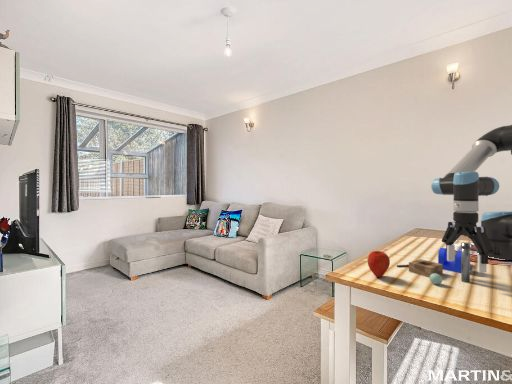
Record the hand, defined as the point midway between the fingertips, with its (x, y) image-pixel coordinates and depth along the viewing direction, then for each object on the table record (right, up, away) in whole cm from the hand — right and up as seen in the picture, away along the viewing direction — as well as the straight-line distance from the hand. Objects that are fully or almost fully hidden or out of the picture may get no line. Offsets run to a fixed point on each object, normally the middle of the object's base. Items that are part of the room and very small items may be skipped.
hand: (465, 266), depth 99 cm
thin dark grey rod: (-9, -6, +19) cm, 22 cm away
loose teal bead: (-13, -6, -2) cm, 14 cm away
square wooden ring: (-8, -6, +11) cm, 15 cm away
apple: (-30, -7, +7) cm, 32 cm away
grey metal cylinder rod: (0, -6, 0) cm, 6 cm away
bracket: (+10, -6, +18) cm, 21 cm away
